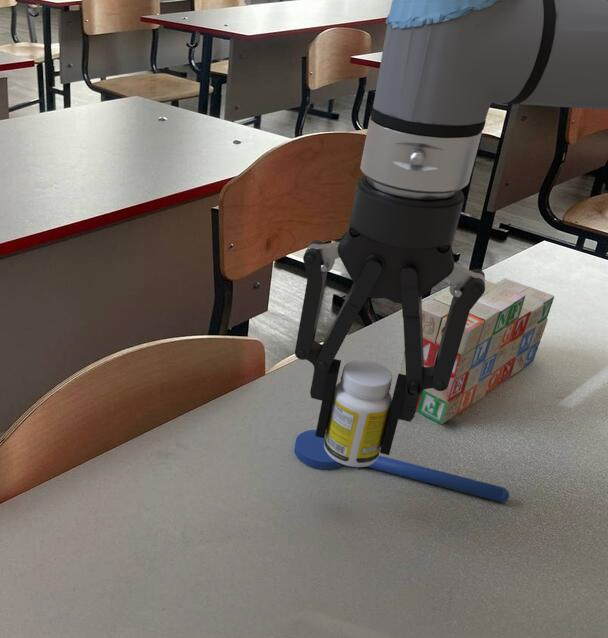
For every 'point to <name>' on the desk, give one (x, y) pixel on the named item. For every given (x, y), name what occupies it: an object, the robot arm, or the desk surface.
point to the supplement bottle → (359, 414)
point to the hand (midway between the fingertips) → (353, 436)
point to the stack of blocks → (482, 344)
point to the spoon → (396, 469)
